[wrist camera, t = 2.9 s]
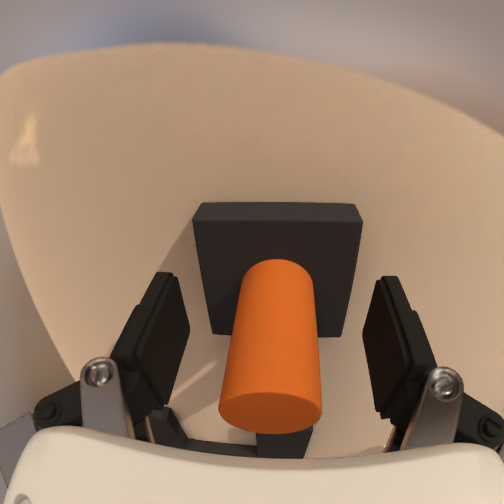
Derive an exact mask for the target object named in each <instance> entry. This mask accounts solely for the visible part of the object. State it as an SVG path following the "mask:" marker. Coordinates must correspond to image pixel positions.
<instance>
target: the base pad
mask: <svg viewBox="0 0 504 504" xmlns="http://www.w3.org/2000/svg"><path fill="white" fill-rule="evenodd" d="M148 418H149V422H150V426H151V430H152V434H153V438H154V442H155V444H158V445H163V446H168V447H173V448H179V449H184V450H191V451H197V452H204V453H212V454H220V455H230V456H240V457H254V458H275V459H303V457H304V455H305V452H306V449H307V446H308V444H309V441H310V438H311V435H312V432H313V425H312V426H310V427H308V428H306V429H303V430H300V431H297V432H292V433H285V434H263V433H256V438H257V446H247V445H235V444H225V443H216V442H207V441H200V440H193V439H188V438H187V436H186V434H185V433H184V431H183V430H182V428H181V426H180V425H179V423H178V421H177V420H176V418H175V416H174V414H173V413H172V411H171V409H170V408H166V407H163V409H162V411H157V410H152V412H151V415H149V416H148Z"/></svg>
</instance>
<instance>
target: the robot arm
mask: <svg viewBox="0 0 504 504" xmlns="http://www.w3.org/2000/svg"><path fill="white" fill-rule="evenodd" d="M189 334H190V325H189V321H188V317H187V313H186V310H185V306H184V302H183V298H182V293H181V289H180V285H179V281H178V278H177V277H176V276H173V274H172V273H171V272H157V273H156V274H155V276H154V278H153V279H152V281H151V283H150V285H149V287H148V289H147V291H146V293H145V294H144V296H143V298H142V300H141V302H140V304H138V305H136V306H135V308H134V309H133V311H132V313H131V315H130V317H129V319H128V321H127V323H126V325H125V327H124V329H123V331H122V333H121V335H120V337H119V339H118V341H117V343H116V345H115V347H114V349H113V351H112V353H111V355H110V357H109V358H108V357H97V358H94V359H92V360H90V361H89V362H87V363H86V364H85V366H84V367H83V368H82V371H81V374H80V380H79V381H77V382H75V383H73V384H71V385H69V386H67V387H65V388H63V389H61V390H59V391H57V392H55V393H53V394H51V395H48V396H46V397H44V398H43V399H41V400H40V401H39V402H38V404H37V405H36V407H35V410H34V413H33V414H32V413H31V412H28V413H26V414H25V415H23V416H21V417H19V418H18V419H16V420H14V421H13V422H11V423H9V424H7V425H6V426H4V427H2V428H0V469H1V472H2V475H3V478H4V480H5V483H6V486H7V488H8V490H7V494H6V497H5V501H4V504H504V420H503V418H502V417H501V416H500V415H499V414H498V413H496V412H495V411H493V410H491V409H490V408H488V407H487V406H485V405H483V404H482V403H480V402H479V401H477V400H475V399H474V398H472V397H470V396H469V395H467V394H466V393H464V392H463V391H464V384H463V381H462V378H461V377H460V375H459V374H458V373H457V372H456V371H455V370H453V369H451V368H449V367H437V364H436V361H435V358H434V355H433V352H432V350H431V347H430V344H429V341H428V339H427V336H426V333H425V331H424V328H423V326H422V323H421V321H420V318H419V316H418V314H417V312H416V311H415V310H412V309H411V307H410V304H409V302H408V300H407V297H406V295H405V292H404V290H403V288H402V285H401V283H400V281H399V278H398V277H397V276H382V277H381V279H380V280H377V281H376V284H375V288H374V292H373V295H372V299H371V303H370V307H369V310H368V314H367V317H366V321H365V324H364V328H363V333H362V337H363V343H364V348H365V353H366V358H367V363H368V369H369V374H370V380H371V386H372V392H373V398H374V405H375V410H376V412H380V416H381V419H387V418H390V422H391V424H393V425H394V426H393V429H392V431H391V434H390V436H389V439H388V441H387V444H386V446H385V448H384V451H383V453H380V454H372V455H363V456H352V457H339V458H317V459H275V458H254V457H240V456H230V455H220V454H212V453H204V452H197V451H191V450H184V449H179V448H173V447H168V446H163V445H158V444H155V442H154V438H153V434H152V430H151V426H150V422H149V418H148V416H149V415H151V412H152V410H157V411H162V409H163V406H164V404H165V405H167V404H168V403H169V400H170V396H171V393H172V390H173V386H174V383H175V380H176V376H177V373H178V370H179V366H180V363H181V360H182V357H183V353H184V350H185V347H186V344H187V340H188V337H189Z"/></svg>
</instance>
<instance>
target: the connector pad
mask: <svg viewBox="0 0 504 504" xmlns="http://www.w3.org/2000/svg"><path fill="white" fill-rule="evenodd" d="M192 222H193V228H194V235H195V241H196V247H197V253H198V259H199V265H200V271H201V276H202V282H203V287H204V293H205V298H206V304H207V309H208V314H209V319H210V324H211V329H212V333H213V334H218V335H232V337H231V343H230V348H229V353H228V359H227V364H226V370H225V375H224V380H223V386H222V391H221V397H220V402H219V408H218V409H219V413H220V415H221V417H222V418H223V419H224V420H225V421H227V422H228V423H230V424H231V425H233V426H235V427H238V428H240V429H243V430H246V431H251V432H256V433H263V434H285V433H292V432H297V431H300V430H303V429H306V428H308V427H310V426H312V425H314V424H315V423H316V422H317V421H318V420H319V419H320V417H321V415H322V401H321V381H320V364H319V349H318V337H341V334H342V330H343V326H344V322H345V317H346V313H347V308H348V304H349V299H350V294H351V289H352V284H353V279H354V274H355V268H356V263H357V257H358V251H359V245H360V239H361V232H362V226H363V220H362V218H361V216H360V214H359V212H358V210H357V208H356V206H355V204H342V203H302V202H217V203H201V205H200V207H199V209H198V210H197V212H196V214H195V216H194V217H193V220H192Z"/></svg>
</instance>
